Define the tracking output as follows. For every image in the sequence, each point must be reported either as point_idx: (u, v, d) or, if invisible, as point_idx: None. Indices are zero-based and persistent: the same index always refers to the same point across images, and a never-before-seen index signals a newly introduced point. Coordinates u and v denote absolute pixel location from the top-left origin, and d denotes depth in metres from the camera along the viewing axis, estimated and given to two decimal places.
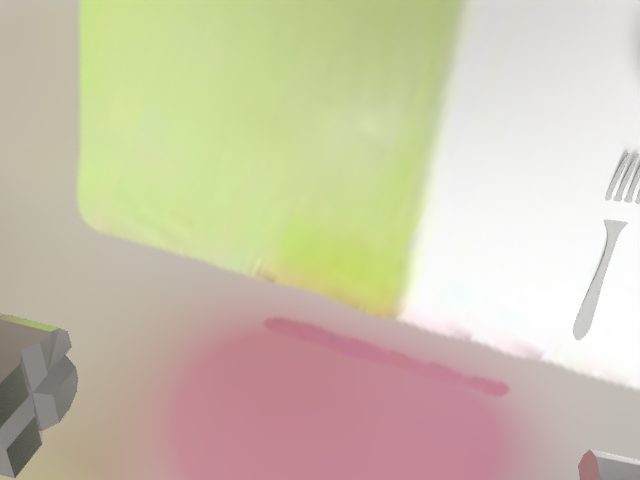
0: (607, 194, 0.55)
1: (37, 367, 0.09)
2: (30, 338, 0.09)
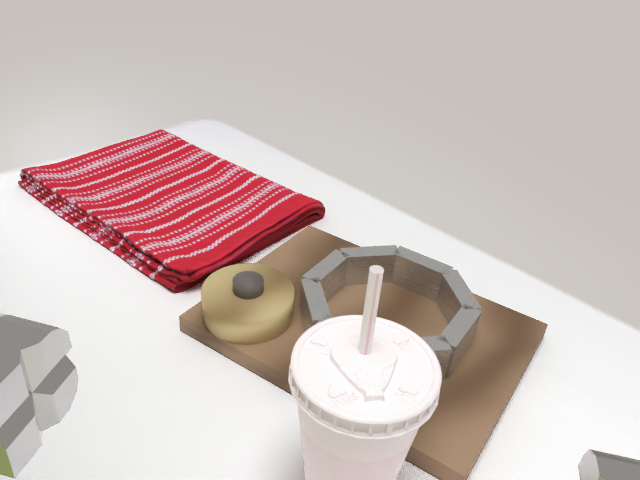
0: None
1: (37, 367, 0.09)
2: (30, 337, 0.09)
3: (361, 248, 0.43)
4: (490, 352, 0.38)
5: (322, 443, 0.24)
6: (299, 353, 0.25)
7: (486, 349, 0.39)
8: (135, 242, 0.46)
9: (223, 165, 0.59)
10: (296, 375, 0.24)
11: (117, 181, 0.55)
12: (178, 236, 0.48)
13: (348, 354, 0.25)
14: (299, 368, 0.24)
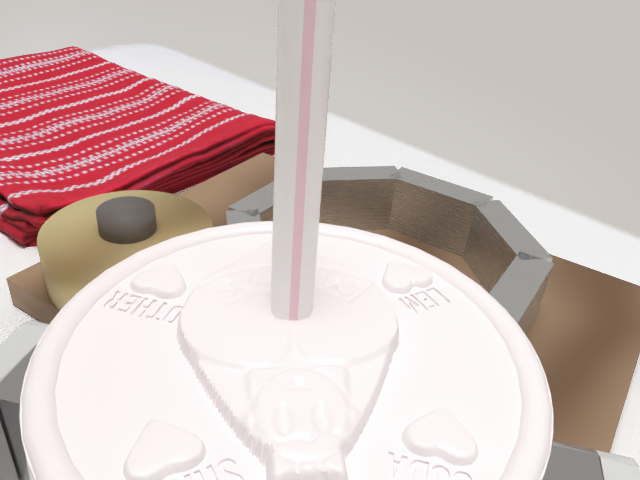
0: None
1: None
2: None
3: (337, 169, 0.26)
4: (568, 339, 0.21)
5: None
6: (78, 317, 0.08)
7: (560, 334, 0.21)
8: None
9: (150, 84, 0.41)
10: (29, 391, 0.07)
11: None
12: (55, 166, 0.31)
13: (236, 319, 0.08)
14: (54, 367, 0.07)
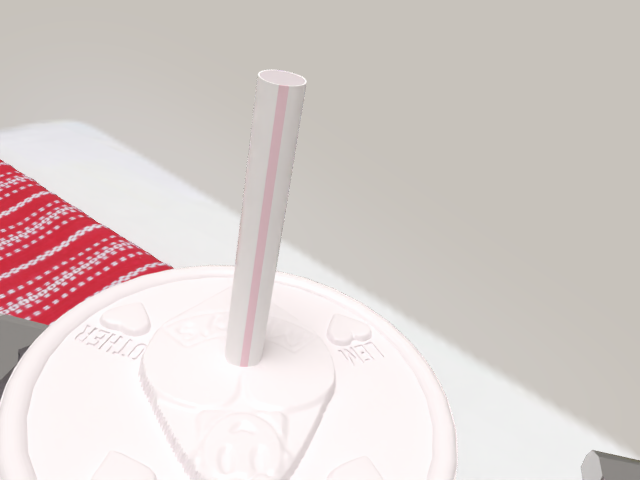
0: None
1: None
2: (28, 337, 0.09)
3: None
4: None
5: None
6: (51, 349, 0.09)
7: None
8: None
9: (40, 204, 0.32)
10: (3, 418, 0.07)
11: None
12: None
13: (193, 362, 0.09)
14: (27, 396, 0.08)
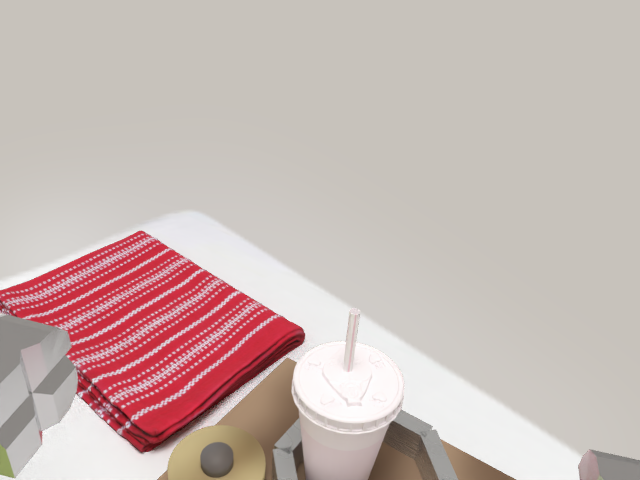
0: None
1: (37, 367, 0.09)
2: (29, 338, 0.09)
3: None
4: None
5: (316, 438, 0.33)
6: (299, 371, 0.34)
7: None
8: (104, 390, 0.44)
9: (202, 278, 0.57)
10: (297, 388, 0.33)
11: (91, 302, 0.53)
12: (150, 377, 0.46)
13: (335, 372, 0.34)
14: (299, 383, 0.33)
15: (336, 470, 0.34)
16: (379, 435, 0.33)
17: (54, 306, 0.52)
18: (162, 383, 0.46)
